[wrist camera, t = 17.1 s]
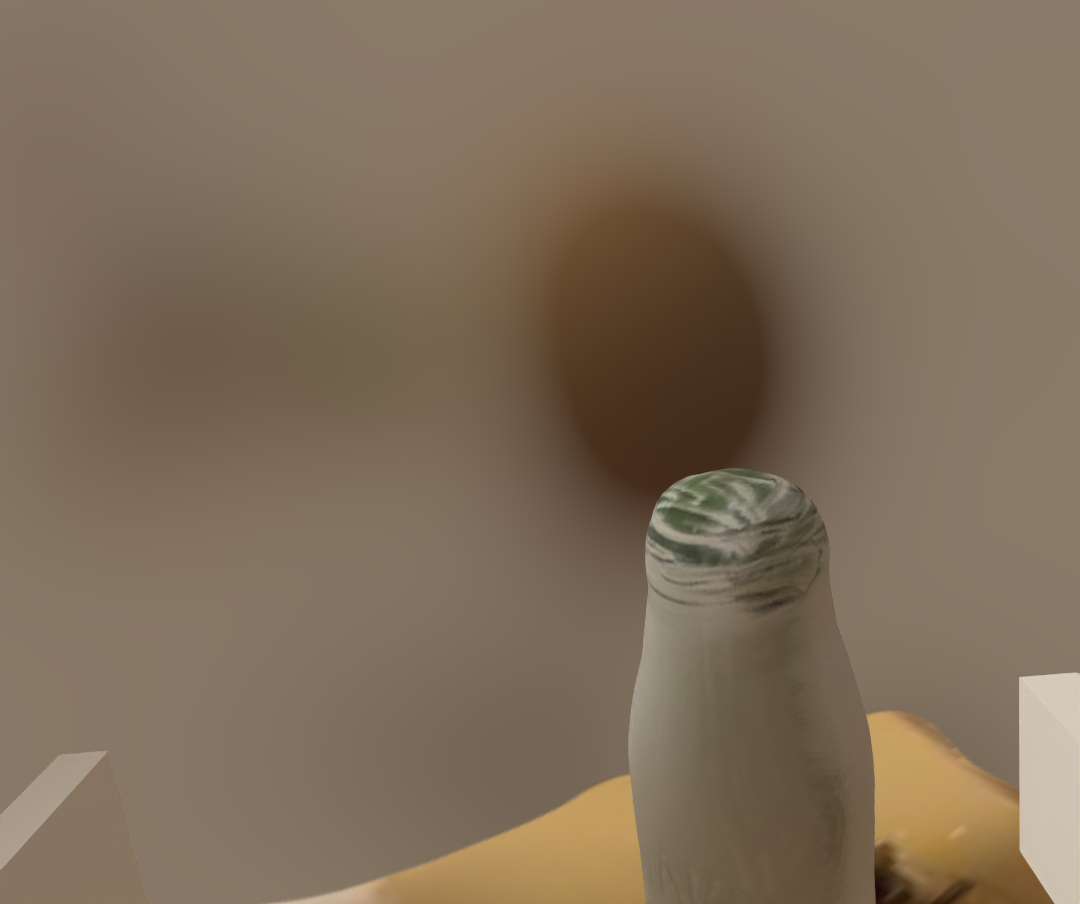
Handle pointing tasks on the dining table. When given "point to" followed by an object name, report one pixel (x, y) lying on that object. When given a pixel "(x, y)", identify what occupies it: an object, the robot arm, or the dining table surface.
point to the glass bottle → (747, 705)
